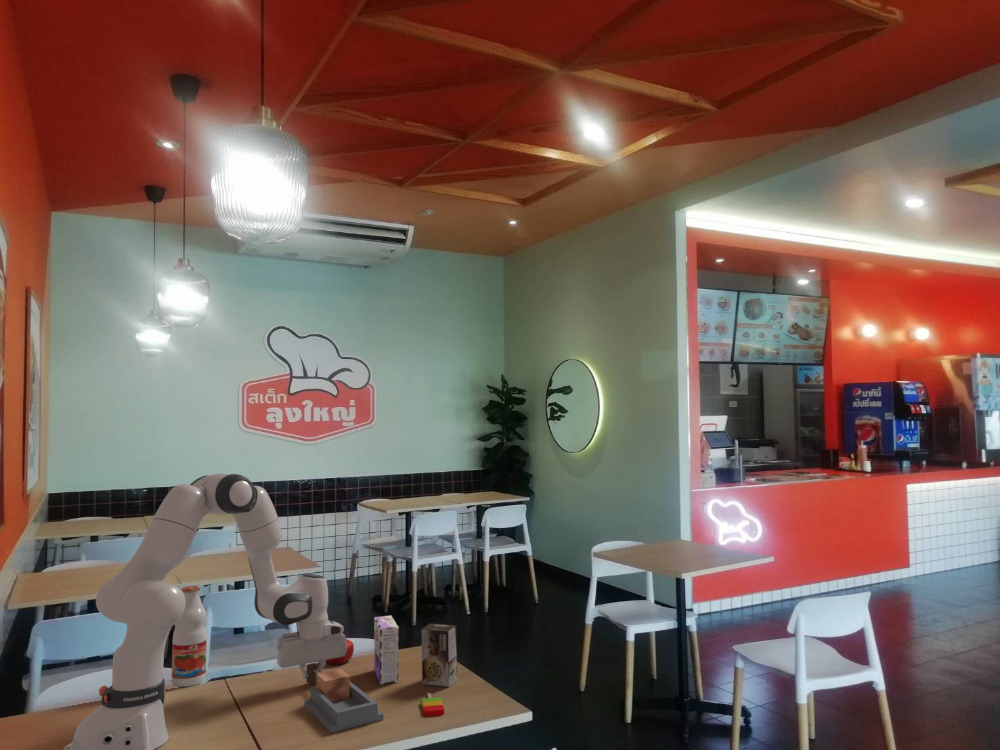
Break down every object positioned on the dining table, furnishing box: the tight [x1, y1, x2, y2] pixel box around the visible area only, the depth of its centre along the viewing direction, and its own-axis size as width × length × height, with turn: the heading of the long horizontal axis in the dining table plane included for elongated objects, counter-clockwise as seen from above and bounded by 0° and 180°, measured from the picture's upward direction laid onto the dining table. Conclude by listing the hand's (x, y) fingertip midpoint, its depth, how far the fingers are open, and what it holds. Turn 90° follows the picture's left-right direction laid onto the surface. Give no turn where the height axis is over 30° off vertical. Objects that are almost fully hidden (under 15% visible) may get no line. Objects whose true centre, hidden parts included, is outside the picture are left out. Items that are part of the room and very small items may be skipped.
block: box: [305, 662, 351, 703], centre depth 197 cm, size 7×23×7 cm, turn 33°
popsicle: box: [420, 692, 445, 718], centre depth 189 cm, size 6×15×2 cm, turn 12°
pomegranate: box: [326, 635, 355, 666], centre depth 226 cm, size 10×10×9 cm
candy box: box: [373, 615, 400, 685], centre depth 212 cm, size 14×6×16 cm, turn 17°
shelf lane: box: [303, 681, 384, 734], centre depth 184 cm, size 14×21×4 cm, turn 34°
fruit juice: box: [171, 585, 208, 688], centre depth 210 cm, size 9×9×28 cm
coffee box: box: [420, 623, 458, 688], centre depth 207 cm, size 9×6×16 cm
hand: (312, 677), depth 205 cm, fingers closed on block, 2 cm apart
